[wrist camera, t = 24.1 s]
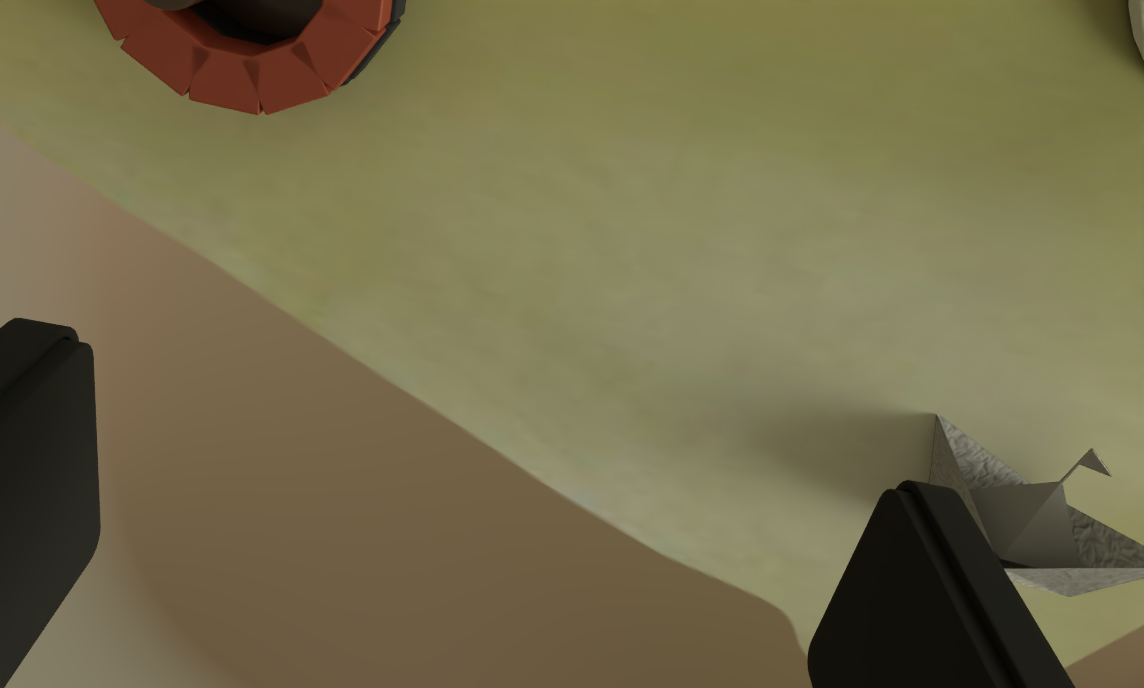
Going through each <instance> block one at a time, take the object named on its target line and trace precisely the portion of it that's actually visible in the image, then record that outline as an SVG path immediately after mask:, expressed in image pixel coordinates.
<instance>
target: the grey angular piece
mask: <svg viewBox="0 0 1144 688" xmlns="http://www.w3.org/2000/svg"><path fill="white" fill-rule="evenodd" d="M1079 465H1082V466H1085V467H1087V468H1090V469H1093V470H1095V471H1098V472H1100V473H1103V474H1105V475H1108V476H1112V474H1111V473H1110V472H1109V470H1108V469H1107V467H1106V466H1105V465H1104V463H1103V462H1102V461H1101V459H1100V458H1099V456H1098V455H1097V454H1096V452H1095V451H1094V449H1093V448H1091V449H1090V450H1089V451H1088V452H1087V453H1086V454H1085V455H1084V456H1083V457H1082V458H1081V459H1080V460H1079V461H1078V462H1077V463H1076V464H1075V466H1074V467H1073V468H1072V469H1071V470H1070V471H1069V472H1068V473H1067V474H1066V475H1065V476H1064V477H1063V478H1062V479H1061V480H1060V481H1059V482H1050V483H1038V484H1030V483H1029V482H1028V481H1026V480H1025V479H1024V478H1022V477H1021V476H1020V475H1018V474H1017V473H1016V472H1014V471H1013V470H1012V469H1010V468H1009V467H1008V466H1006V465H1005V464H1003V463H1002V462H1001V461H999V460H998V459H997V458H995V457H994V456H993V455H991V454H990V453H989V452H987V451H986V450H985V449H983V448H982V447H981V446H979V445H978V444H977V443H975V442H974V441H973V440H971V439H970V438H968V437H967V436H966V435H964V434H963V433H962V432H960V431H959V430H958V429H956V428H955V427H954V426H952V425H951V424H950V423H948V422H947V421H946V420H944V419H943V418H942V417H940V416H939V415H937V420H936V429H935V438H934V446H933V455H932V464H931V473H930V482H929V484H933V485H938V486H944V487H949V488H952V489H954V490H955V491H956V492H957V493H958V494H959V495H960V497H961V498H962V500H963V502H964V503H965V505H966V507H967V508H968V510H969V512H970V513H971V515H972V517H973V518H974V520H975V522H976V523H977V525H978V527H979V528H980V530H981V532H982V533H983V535H984V537H985V538H986V540H987V542H988V543H989V545H990V547H991V548H992V550H993V552H994V553H995V555H996V557H997V558H998V560H999V562H1000V563H1001V565H1002V567H1003V568H1004V570H1005V572H1006V573H1007V575H1008V577H1009V578H1010V580H1011V581H1012V582H1016V583H1019V584H1023V585H1027V586H1030V587H1034V588H1038V589H1041V590H1045V591H1049V592H1053V593H1056V594H1060V595H1064V596H1067V597H1071V596H1075V595H1079V594H1083V593H1087V592H1091V591H1095V590H1099V589H1103V588H1107V587H1111V586H1115V585H1119V584H1123V583H1127V582H1131V581H1135V580H1139V579H1143V578H1144V546H1143V545H1142V544H1140V543H1138V542H1136V541H1134V540H1132V539H1130V538H1129V537H1127V536H1125V535H1123V534H1121V533H1119V532H1117V531H1116V530H1114V529H1112V528H1110V527H1108V526H1106V525H1104V524H1103V523H1101V522H1099V521H1097V520H1095V519H1093V518H1091V517H1090V516H1088V515H1086V514H1084V513H1082V512H1080V511H1078V510H1077V509H1075V508H1073V507H1071V506H1069V505H1067V504H1066V499H1065V495H1064V490H1063V485H1062V483H1063V482H1064V480H1065V479H1066V478H1067V477H1068V476H1069V475H1070V474H1071V473H1072V472H1073V471H1074V470H1075V469H1076V468H1077V467H1078V466H1079Z"/></svg>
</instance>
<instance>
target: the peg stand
mask: <svg viewBox="0 0 1144 688" xmlns="http://www.w3.org/2000/svg"><path fill="white" fill-rule="evenodd" d="M144 1H145V2H147V3H148V4H150V5H152V6H154V7H156V8H159V9H163V10H169V11H175V10H181V9H184V8H187V7H189V6H192V5H194V4H197V3H199V2H202V1H204V0H144ZM211 1H213V2H214V3H215V4H216V5H217V6H219V7H220V8H221V9H222V10H224V11H225V12H226V13H227V14H228V15H230V16H231V17H232V18H233V19H234V20H236V21H237V22H238V23H239V24H240V25H242V26H243V27H244V28H245V29H250V30H254V31H259V32H263V33H268V34H272V35H277V36H281V37H286V38H290V37H293V36H296V35H298V34H300V33H301V32H302V31H303V29H304V28H305V27H306V25H307V24H308V23H309V21H310V20H311V19H312V17H313V16H314V15H315V13H316V12H317V11H318V9H319V8H320V7H321V6H322V0H211Z"/></svg>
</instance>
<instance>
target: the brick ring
mask: <svg viewBox="0 0 1144 688" xmlns="http://www.w3.org/2000/svg"><path fill="white" fill-rule="evenodd" d="M94 2H95V4H96V6H97V8H98V10H99V11H100V13H101V15H102V17H103V19H104V21H105V23H106V25H107V27H108V29H109V30H110V32H111V34H112V36H113V38H114V39H115V40H120V39H123V38H126V37H127V38H126V39H125V41H124V42H123V44H122V45H121V47H120V48H121V49H122V50H124V51H125V52H126V53H127V54H129V55H130V56H131V57H133V58H134V59H135V60H136V61H138V62H139V63H140V64H141V65H143V66H144V67H145V68H146V69H148V70H149V71H150V72H151V73H153V74H154V75H155V76H157V77H158V78H159V79H160V80H162V81H163V82H164V83H165V84H167V85H168V86H169V87H170V88H172V89H173V90H174V91H175V92H177V93H178V94H179V95H181V96H183V95H185V94H187V93H188V92H189V99H190V100H192V101H197V102H201V103H206V104H210V105H215V106H219V107H223V108H228V109H232V110H237V111H241V112H246V113H250V114H255V115H259V114H260V113H262V112H263V111H264V112H265V114H266V115H269V114H272V113H275V112H278V111H281V110H284V109H288V108H291V107H294V106H297V105H300V104H303V103H306V102H309V101H313V100H316V99H319V98H322V97H325V96H328V95H329V94H330V93H331V92H332V91H333V90H336V89H337V88H338V87H339V86H340V85H341V84H342V83H343V82H344V81H345V80H346V79H347V78H348V77H349V76H350V75H351V73H352V72H353V71H354V70H355V68H356V67H357V66H358V65H359V63H360V62H361V61H362V60H363V58H364V57H365V56H366V55H367V53H368V52H369V51H370V50H371V48H372V47H373V46H374V45H375V43H376V42H377V41H378V40H379V38H380V37H381V36H382V35H383V33H384V32H385V31H386V28H385V27H384V26H385V25H386V24H387V23H388V22H389V21H390V14H391V7H392V0H322V6H321V7H320V8H319V9H318V11H317V12H316V13H315V15H314V16H313V17H312V19H311V20H310V21H309V23H308V24H307V25H306V27H305V28H304V29H303V31H302V32H301V33H300V34H299V35H298V36H295V37H292V38H289V39H286V40H283V41H280V42H277V43H274V44H271V45H268V46H266V45H261V44H257V43H253V42H248V41H244V40H240V39H235V38H231V37H227V36H223V35H221V34H220V33H219V32H217V31H216V30H215V29H214V28H213V27H211V26H210V25H209V24H208V23H207V22H205V21H204V20H203V19H202V18H201V17H199V16H198V15H197V14H196V13H195V12H193V11H192V10H191V9H190V8H189V7H187V8H184V9H181V10H175V11H169V10H163V9H159V8H156V7H154V6H152V5H150V4H148V3H147V2H145V1H144V0H94Z"/></svg>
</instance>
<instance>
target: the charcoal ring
mask: <svg viewBox="0 0 1144 688" xmlns="http://www.w3.org/2000/svg"><path fill="white" fill-rule="evenodd" d="M405 3H406V0H392V7H391V14H390V21H389V22H388V23H387V24H386V25H385V26H384V27H385V28H386V31H385V32H384V33H383V35H382V36H381V37H380V38H379V40H378V41H377V42H376V43H375V45H374V46H373V47H372V48H371V50H370V51H369V52H368V53H367V55H366V56H365V57H364V58H363V60H362V61H361V62H360V63H359V65H358V66H357V67H356V68H355V70H354V71H353V72H352V73H351V75H350V76H349V77H348V78H347V79H346V80H345V81H344V82H343V83H342V84H341V85H340V86H343V85H346V84H348V83H349V81H350V80H351V79H354V78H355V77H356V76H357V75H358V74H359V73H360V72H361V71H362V70H363V69H364V68H365V67H366V66H367V64H368V63H369V62H370V60H371V59H372V58H373V57H374V55H375V54H376V53H377V52H378V50H379V49H380V48H381V46H382V45H383V44H384V43H385V41H386V40H387V39H388V38H389V36H390V35H391V34H392V32H393V31H394V30H395V29H396V27H397V26H398V25H399V23H400V19H399V18H400V17H401V16H402V15H403V14H404V11H405ZM189 8H190V9H191V10H192V11H193V12H195V13H196V14H197V15H198V16H199V17H201V18H202V19H203V20H204V21H205V22H207V23H208V24H209V25H210V26H211V27H213V28H214V29H215V30H216V31H217V32H219V33H220V34H221V35H223V36H227V37H231V38H235V39H240V40H244V41H248V42H253V43H257V44H261V45H266V46H268V45H271V44H274V43H277V42H280V41H283V40H286V39H289V38H286V37H281V36H277V35H272V34H268V33H263V32H259V31H254V30H250V29H245V28H244V27H243V26H242V25H240V24H239V23H238V22H237V21H236V20H234V19H233V18H232V17H231V16H230V15H228V14H227V13H226V12H225V11H224V10H222V9H221V8H220V7H219V6H217V5H216V4H215V3H214V2H213V1H211V0H204V1H202V2H199V3H197V4H194V5H192V6H189ZM298 35H299V34H298ZM298 35H296V36H298ZM293 37H295V36H293ZM290 38H292V37H290ZM340 86H339V87H340Z"/></svg>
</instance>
